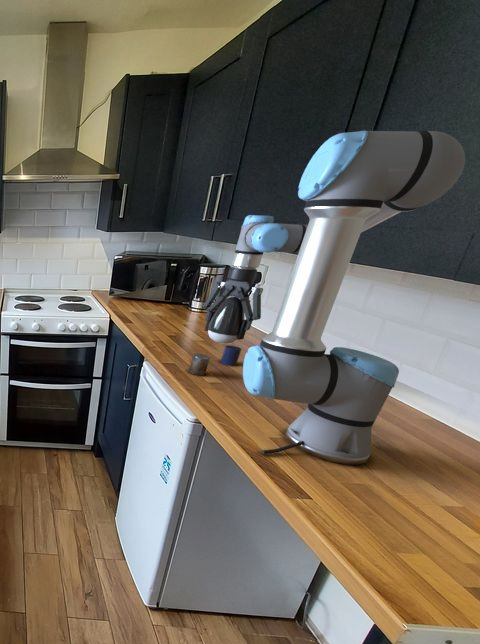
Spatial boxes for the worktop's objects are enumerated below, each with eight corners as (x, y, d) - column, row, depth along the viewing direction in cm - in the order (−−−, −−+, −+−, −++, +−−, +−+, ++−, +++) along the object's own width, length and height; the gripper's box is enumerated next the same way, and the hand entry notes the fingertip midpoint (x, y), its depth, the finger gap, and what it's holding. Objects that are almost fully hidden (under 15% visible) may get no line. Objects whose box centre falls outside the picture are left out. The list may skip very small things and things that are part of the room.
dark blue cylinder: (231, 366, 143) (237, 350, 141) (217, 362, 147) (222, 346, 145) (238, 364, 146) (244, 348, 143) (225, 360, 150) (229, 344, 147)
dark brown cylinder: (199, 376, 133) (204, 360, 131) (185, 371, 137) (190, 355, 135) (208, 374, 136) (213, 357, 133) (193, 369, 140) (198, 353, 137)
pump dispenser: (245, 346, 133) (261, 300, 126) (214, 345, 133) (228, 299, 126) (228, 337, 142) (241, 294, 136) (198, 336, 142) (211, 293, 136)
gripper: (290, 272, 120) (265, 342, 130) (214, 262, 138) (197, 324, 147) (278, 273, 117) (253, 345, 126) (202, 263, 134) (185, 327, 143)
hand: (223, 334), depth 136 cm, fingers closed on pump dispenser, 10 cm apart
